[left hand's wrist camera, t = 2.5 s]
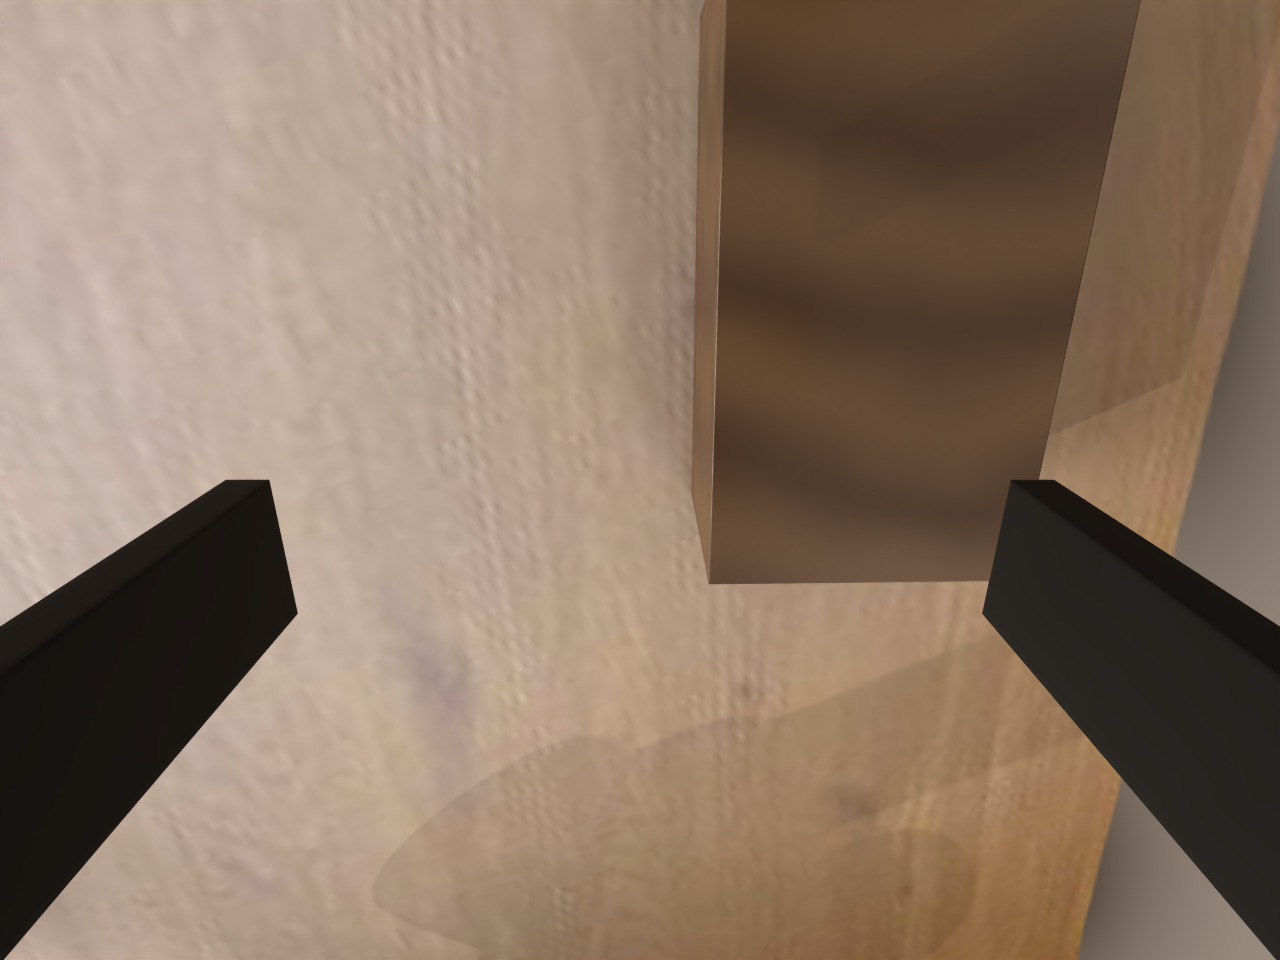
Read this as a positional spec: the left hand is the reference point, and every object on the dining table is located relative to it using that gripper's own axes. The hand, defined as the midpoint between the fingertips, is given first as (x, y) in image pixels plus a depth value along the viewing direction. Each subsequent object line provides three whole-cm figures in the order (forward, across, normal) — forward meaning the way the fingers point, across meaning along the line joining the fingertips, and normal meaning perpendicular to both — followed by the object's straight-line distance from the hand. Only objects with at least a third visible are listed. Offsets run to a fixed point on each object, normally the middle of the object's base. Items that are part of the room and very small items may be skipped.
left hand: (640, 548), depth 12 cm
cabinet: (+18, -8, -3) cm, 19 cm away
